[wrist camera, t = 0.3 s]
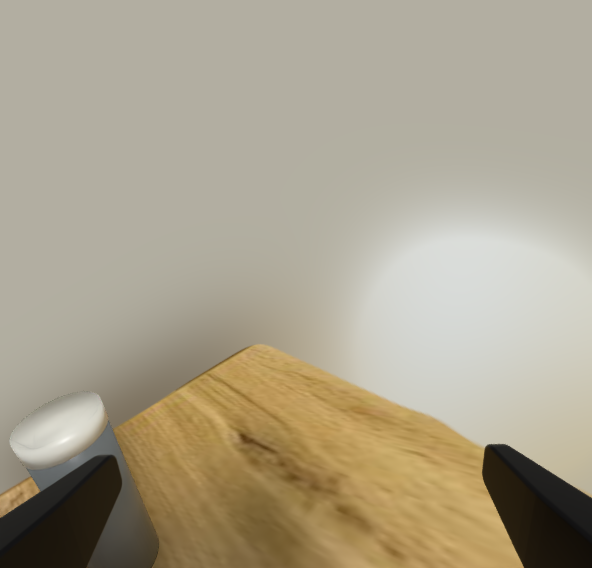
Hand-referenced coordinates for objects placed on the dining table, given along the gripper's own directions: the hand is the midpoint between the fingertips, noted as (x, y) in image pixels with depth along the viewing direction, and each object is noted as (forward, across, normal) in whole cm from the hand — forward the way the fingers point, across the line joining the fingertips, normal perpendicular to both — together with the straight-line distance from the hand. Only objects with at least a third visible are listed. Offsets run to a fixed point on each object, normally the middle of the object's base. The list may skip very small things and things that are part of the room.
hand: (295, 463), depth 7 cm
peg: (+8, +12, +16) cm, 22 cm away
